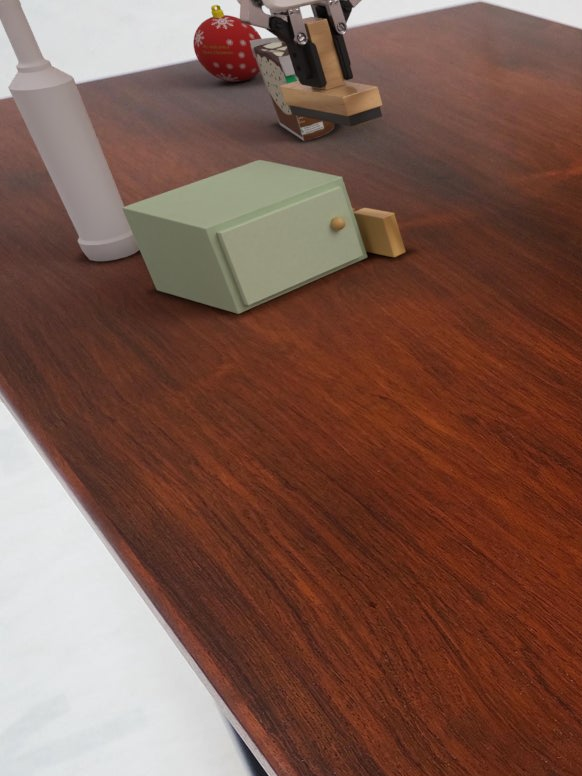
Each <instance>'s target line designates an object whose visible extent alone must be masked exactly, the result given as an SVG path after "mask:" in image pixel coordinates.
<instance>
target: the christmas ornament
mask: <svg viewBox="0 0 582 776" xmlns="http://www.w3.org/2000/svg"><path fill="white" fill-rule="evenodd" d="M210 9H211V15H212V16H211V17H209V18H207V19H205V20H203V22H201V23H200V24H199V26H198V27H197V28H196V30H195V32H194V35H193V51H194V54H195V56H196V59H197V60H198V62H199V63H200V64H201V66H202V67H203V69H205V70H206V71H207V72H208V73H210V75H212V76H214V77H216V78H218V79H220V80H223V81H225V82H229V83H230V82H231V83H239V82H245V81H249V80H251V79H252V78H254V77H256V76H258V75H259V73H261V72H260V69H259V66H258V63H257V61H256V58H254V56H253V52H252V49H251V44H250V41H251V40H257V39H263V38H262V36H261V35H260V33H259V32H258V31H257V29H255V28H254V26H252V25H248V24H245V23H243V22H242V21H241V20H240V17H237V16H233V15H228V14H224V10H222V9H221V5H219V4H213V5H212V6H211V7H210Z"/></svg>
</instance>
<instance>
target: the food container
mask: <svg viewBox="0 0 582 776" xmlns="http://www.w3.org/2000/svg"><path fill="white" fill-rule="evenodd" d="M250 44H251V49H252V52H253V56H254V58H256V61H257V63H258V66H259V69H260V72H259V73H260V74H261V77H262V80H263V82H264V85H265V88H266V91H267V93H268V96H269V99H270V102H271V105H272V107H273V110H274V113H275V116H276V118H277V121H278V124H279V125H280V126H281V127H282V128H284V129H286V130H287V132H290V133H291V134H293V135H295V136H296V137H297V138H299V139H300V140H302V141H303V142H307V141H310V140H311V141H312V140H314V139H317V138H320V137H323V136H326V135H328V134H329V133H330V132H332V131H333V130H334V129H335V123H332V122H327V121H322V120H317V119H312V118H306V117H301V116H296V115H292V113H291V110H290V106H289V105H286V104H285V101H284V97H283V94H282V91H281V88H280V86H281V85H285V84H288V83H292V82H295V81H299V79H298V77H297V76H296V74H295V72H294V69H293V65H292V62H291V59H290V55H289V52H288V49H287V46H286V43H285V42H281V41H280V40H279V39H278V38H277V36H275V37H265V38H262V39H257V40H251V41H250Z"/></svg>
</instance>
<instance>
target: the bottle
mask: <svg viewBox="0 0 582 776" xmlns="http://www.w3.org/2000/svg"><path fill="white" fill-rule="evenodd" d="M0 22H1V24H2V27H3V29H4V32H5V33H6V37H7V39H8V40H9V43H10V45H11V47H12V50H13V53H14V54H15V57H16V59H17V62H18V63H17V65H16V66H15V67H16V70H17V72H16V74H15V76H14V77H13V79H12V80H11V82H10V84H9V86H8V87H7V88H8V90H9V92H10V94H11V96H12V99H13V101H14V102H15V105H16V107H17V109H18V111H19V113H20V115H21V117H22V119H23V121H24V124H25V126H26V128H27V130H28V132H29V135H30V137H31V139H32V140H33V143H34V145H35V147H36V149H37V151H38V153H39V156H40V157H41V160H42V162H43V164H44V166H45V167H46V171H47V173H48V175H49V177H50V179H51V180H52V183H53V185H54V187H55V189H56V191H57V193H58V195H59V197H60V200H61V202H62V204H63V206H64V208H65V210H66V212H67V214H68V217H69V218H70V219H69V220H70V221H71V223H72V225H73V228H74V230H75V231H76V233H77V235H78V239H77V243H78V245H79V247H80V250H81V251H82V252H83V253H84V254H83V255H85V256H86V257H87V259H88V260H89V261H93V262H109V261H117V260H120V259H123V258H127V257H129V256H133V255H135V254H136V253H137V252H140V249H139V247H138V245H137V242H136V240H135V238H134V235H133V233H132V231H131V228H130V226H129V223H128V221H127V219H126V216H125V214H124V212H123V209H122V207H125V204H124V202H123V199H122V197H121V193H120V192H119V190H118V187H117V185H116V182H115V179H114V177H113V174H112V172H111V169H110V167H109V164H108V162H107V159H106V157H105V153H104V152H103V150H102V146H101V143H100V141H99V139H98V137H97V134H96V131H95V129H94V126H93V124H92V122H91V118H90V117H89V114H88V111H87V109H86V107H85V104H84V101H83V99H82V96H81V94H80V91H79V89H78V86H77V83H76V81H75V78H74V77H73V76H72V75H71V74H68V73H66V72H65V71H64V70H60V69H59V68H57V67H55V66H53V65H52V63H51V61H50V60H48V59H46V58H44V55H43V53H42V51H41V49H40V46H39V44H38V41H37V40H36V37H35V35H34V32H33V30H32V27H31V26H30V23H29V21H28V18H27V16H26V14H25V12H24V9H23V7H22V3H21V1H20V0H0Z"/></svg>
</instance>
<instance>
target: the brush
mask: <svg viewBox="0 0 582 776" xmlns="http://www.w3.org/2000/svg"><path fill="white" fill-rule="evenodd" d="M303 22H304V25H305V29H306V33H307V37H308V42H311V43H314V44H315V45H316V47H317V51H318V54H319V58H320V61H321V64H322V68H323V71H324V75H325V78H326V81H327V84H326V86H325V87H322V88H317V87H311V86H305V85H302V84H301V83H300V82H299V81H295V82H292V83H288V84H285V85H281V86H280V88H281V91H282V94H283V97H284V101H285V104H286V105H289V106H290V110H291V113H292V115H296V116H301V117H306V118H312V119H317V120H322V121H327V122H332V123H334V124H337V125H343V126H348V127H354V126H357V125H361V124H362V123H366V122H369V121H372V120H375V119H379V118H381V117H383V113H382V110H381V109H382V108H381V107H382V106H383V102H382V98H381V94H380V92H379V87H378V86H375V85H371V84H364V83H358V82H352V81H348V80H344V78H343V74H342V71H341V67H340V64H339V60H338V57H337V53H336V50H335V46H334V43H333V39H332V35H331V32H330V28H329V25H328V21H327V19H323V18H316V17H314V16H308V17H305V18H304V17H303Z"/></svg>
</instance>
